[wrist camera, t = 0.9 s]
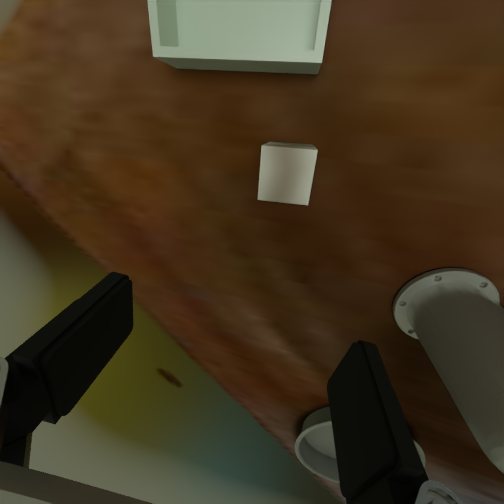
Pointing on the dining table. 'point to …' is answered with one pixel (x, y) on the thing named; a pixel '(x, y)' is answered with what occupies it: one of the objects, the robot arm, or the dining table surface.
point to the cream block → (286, 172)
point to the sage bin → (240, 34)
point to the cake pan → (323, 445)
